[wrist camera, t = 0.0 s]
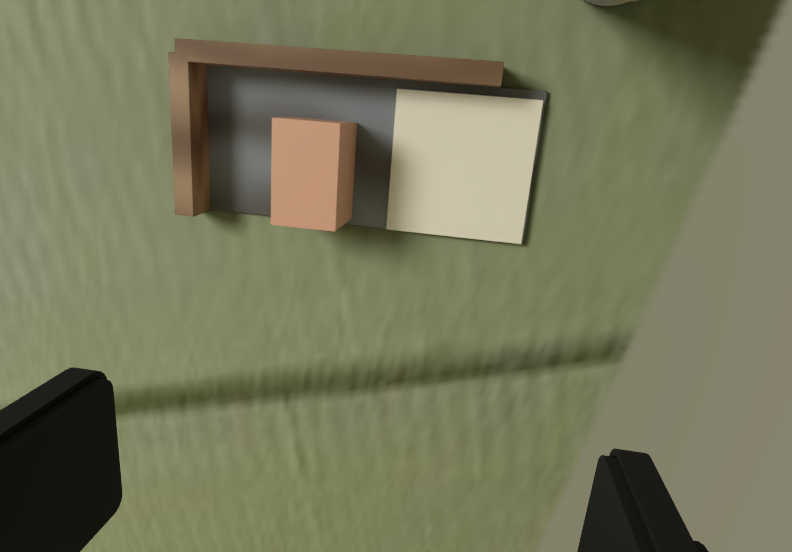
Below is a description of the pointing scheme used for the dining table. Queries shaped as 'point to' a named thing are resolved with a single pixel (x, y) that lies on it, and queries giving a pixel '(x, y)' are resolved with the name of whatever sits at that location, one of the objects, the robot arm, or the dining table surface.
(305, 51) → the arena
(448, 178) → the pad
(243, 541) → the dining table surface
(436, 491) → the dining table surface
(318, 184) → the block
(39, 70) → the dining table surface
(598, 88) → the dining table surface
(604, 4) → the coffee cup
